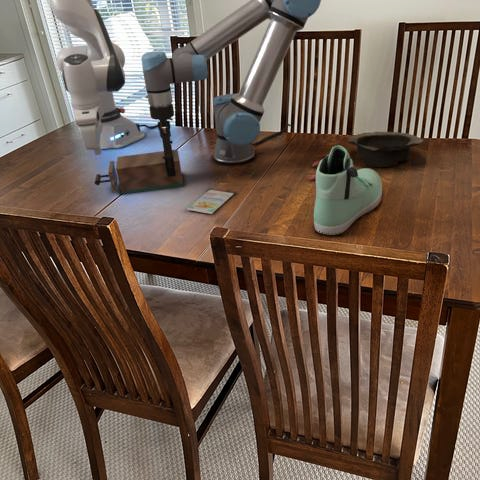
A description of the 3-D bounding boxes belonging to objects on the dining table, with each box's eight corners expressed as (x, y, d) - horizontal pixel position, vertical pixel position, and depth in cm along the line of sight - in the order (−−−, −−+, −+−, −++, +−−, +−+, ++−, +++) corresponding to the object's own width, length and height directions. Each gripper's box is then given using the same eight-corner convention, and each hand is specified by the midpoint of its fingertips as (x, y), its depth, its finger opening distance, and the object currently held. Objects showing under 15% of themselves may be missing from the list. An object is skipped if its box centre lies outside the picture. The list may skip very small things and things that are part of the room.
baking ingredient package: (185, 208, 144) (210, 188, 156) (186, 209, 145) (210, 190, 156) (211, 213, 141) (234, 192, 152) (211, 214, 141) (234, 193, 152)
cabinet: (121, 194, 158) (115, 168, 153) (122, 181, 167) (117, 156, 163) (183, 185, 160) (179, 160, 156) (181, 173, 170) (177, 149, 165)
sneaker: (389, 187, 148) (396, 123, 138) (356, 242, 123) (361, 168, 112) (346, 181, 154) (350, 119, 144) (306, 232, 129) (307, 161, 118)
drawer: (96, 194, 157) (91, 174, 154) (98, 182, 165) (93, 163, 162) (170, 184, 160) (167, 164, 156) (169, 173, 168) (166, 154, 164)
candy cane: (296, 178, 159) (296, 174, 158) (317, 162, 169) (317, 158, 168) (312, 182, 156) (312, 178, 155) (333, 165, 166) (333, 161, 165)
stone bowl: (380, 178, 154) (381, 150, 149) (333, 160, 174) (332, 135, 170) (437, 159, 162) (439, 132, 158) (385, 144, 183) (386, 120, 178)
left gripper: (81, 103, 157) (91, 143, 164) (73, 121, 139) (85, 166, 147) (101, 101, 157) (110, 141, 165) (95, 119, 140) (106, 163, 147)
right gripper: (148, 96, 160) (158, 158, 172) (149, 116, 141) (160, 184, 152) (170, 94, 161) (179, 155, 173) (174, 113, 142) (184, 181, 153)
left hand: (98, 153), depth 155 cm, fingers closed
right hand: (170, 169), depth 162 cm, fingers closed on cabinet, 11 cm apart
